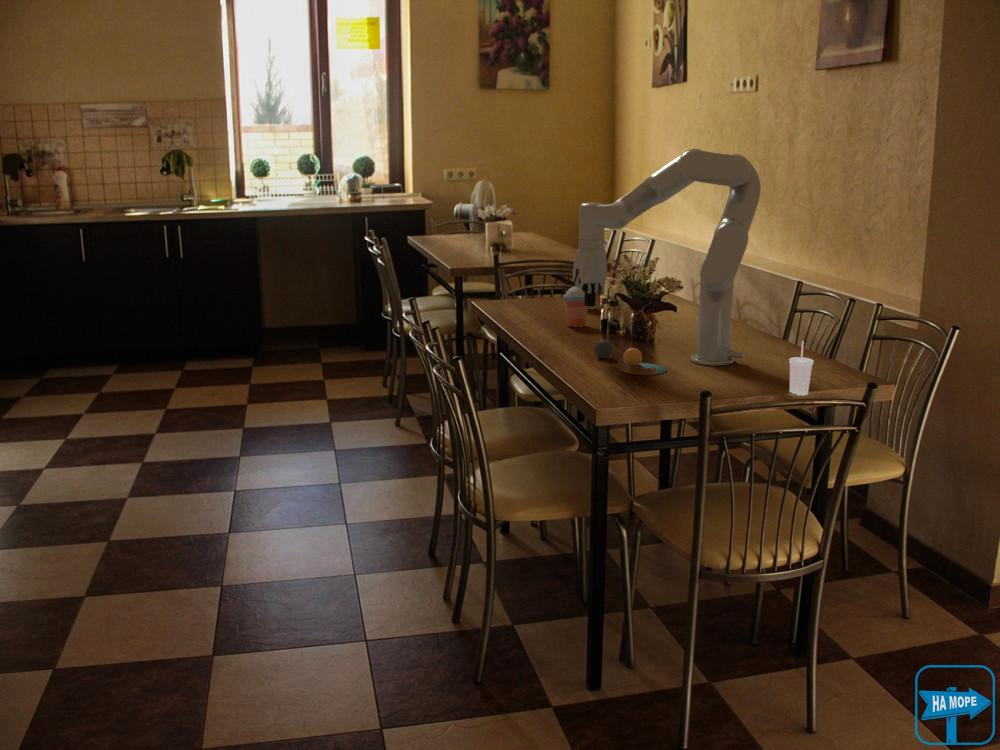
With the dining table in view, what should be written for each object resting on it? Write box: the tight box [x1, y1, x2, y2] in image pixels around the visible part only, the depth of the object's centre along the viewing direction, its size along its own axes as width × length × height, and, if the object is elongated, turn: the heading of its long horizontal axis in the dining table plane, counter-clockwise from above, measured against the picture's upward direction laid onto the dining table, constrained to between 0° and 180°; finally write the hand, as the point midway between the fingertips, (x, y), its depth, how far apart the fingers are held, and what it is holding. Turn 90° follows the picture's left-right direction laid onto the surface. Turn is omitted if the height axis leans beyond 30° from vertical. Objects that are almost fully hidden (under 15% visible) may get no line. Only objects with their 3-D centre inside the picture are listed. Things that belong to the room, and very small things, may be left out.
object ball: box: [622, 347, 643, 367], centre depth 282 cm, size 6×6×6 cm
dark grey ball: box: [593, 339, 613, 359], centre depth 292 cm, size 6×6×6 cm
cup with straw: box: [563, 286, 588, 328], centre depth 336 cm, size 9×9×18 cm
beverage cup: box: [788, 340, 814, 397], centre depth 254 cm, size 6×6×14 cm
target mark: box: [639, 362, 668, 375], centre depth 279 cm, size 14×14×1 cm
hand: (589, 305), depth 293 cm, fingers closed
